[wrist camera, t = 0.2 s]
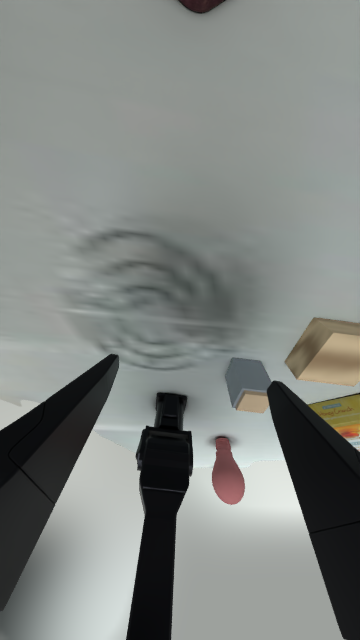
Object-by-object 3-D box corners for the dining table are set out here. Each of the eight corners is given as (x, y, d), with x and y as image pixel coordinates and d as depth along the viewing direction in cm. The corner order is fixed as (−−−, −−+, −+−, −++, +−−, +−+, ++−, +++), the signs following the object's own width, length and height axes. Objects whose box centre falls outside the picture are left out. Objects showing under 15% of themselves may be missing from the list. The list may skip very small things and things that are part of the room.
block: (333, 366, 28) (353, 386, 25) (283, 360, 28) (296, 379, 24) (372, 324, 23) (403, 341, 20) (312, 316, 23) (333, 332, 20)
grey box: (250, 379, 30) (264, 414, 25) (225, 376, 30) (233, 411, 25) (260, 360, 28) (278, 396, 22) (232, 357, 28) (243, 391, 22)
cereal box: (423, 414, 25) (410, 473, 37) (386, 383, 30) (385, 444, 41) (285, 437, 32) (311, 480, 43) (273, 409, 36) (300, 455, 48)
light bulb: (214, 429, 41) (222, 497, 31) (239, 434, 42) (255, 502, 32) (204, 440, 45) (209, 505, 35) (228, 445, 46) (239, 509, 35)
